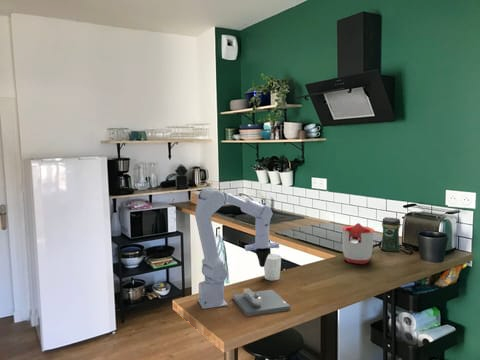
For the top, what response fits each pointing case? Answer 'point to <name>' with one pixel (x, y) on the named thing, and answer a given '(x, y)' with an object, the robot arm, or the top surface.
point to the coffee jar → (390, 234)
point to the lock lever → (252, 298)
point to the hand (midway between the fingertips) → (261, 266)
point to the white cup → (272, 267)
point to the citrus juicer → (357, 243)
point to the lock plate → (262, 303)
